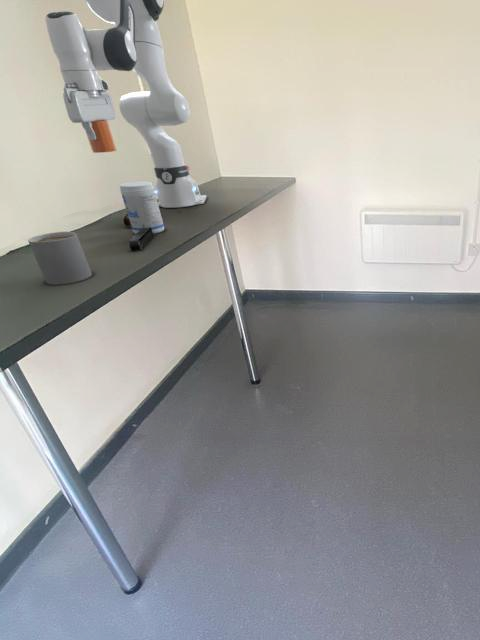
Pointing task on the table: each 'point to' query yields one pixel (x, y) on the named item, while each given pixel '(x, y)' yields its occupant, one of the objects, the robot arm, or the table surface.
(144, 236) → the black bar
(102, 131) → the cup
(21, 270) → the table surface
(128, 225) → the sunglasses case
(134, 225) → the supplement tub
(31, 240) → the coffee mug
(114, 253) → the table surface
